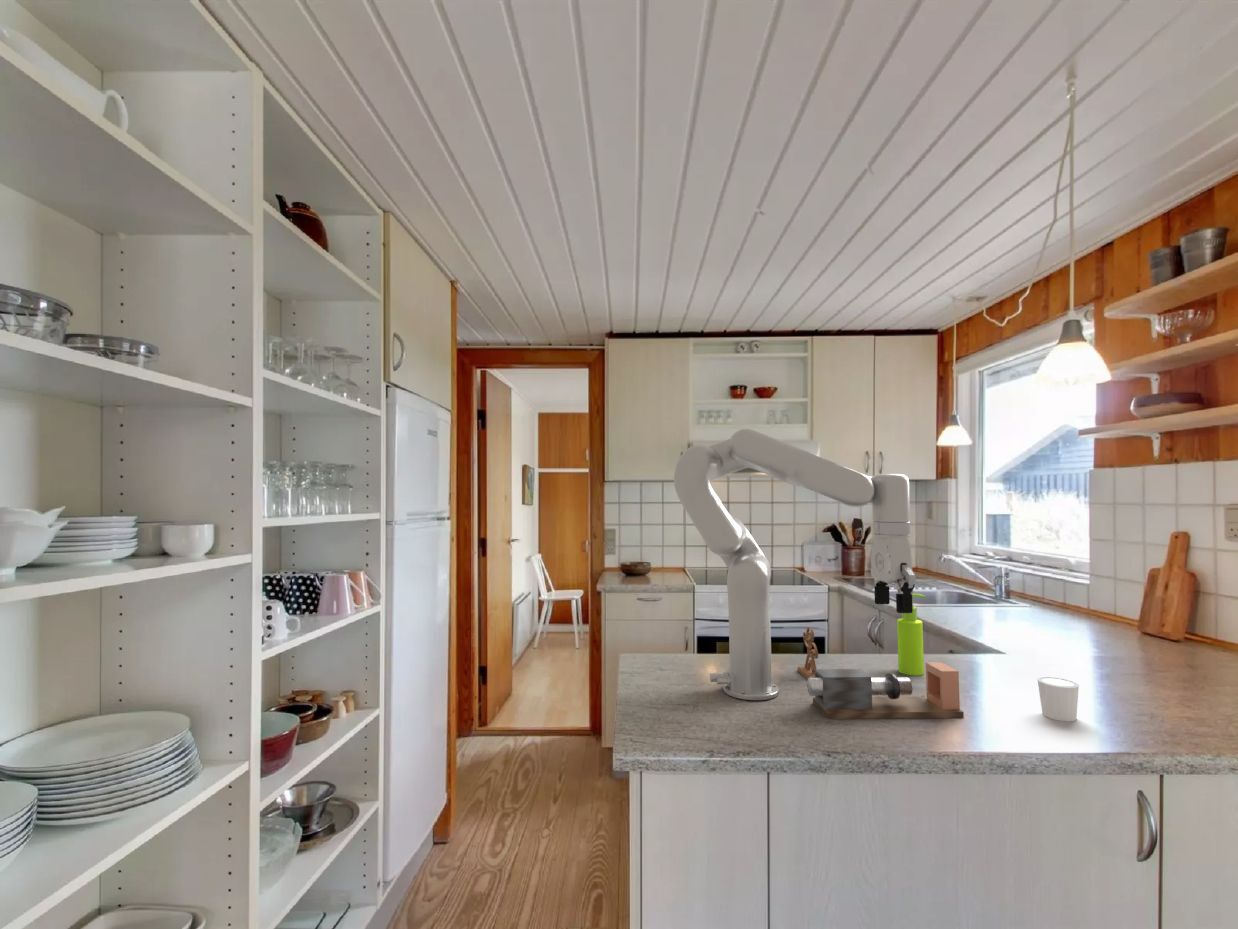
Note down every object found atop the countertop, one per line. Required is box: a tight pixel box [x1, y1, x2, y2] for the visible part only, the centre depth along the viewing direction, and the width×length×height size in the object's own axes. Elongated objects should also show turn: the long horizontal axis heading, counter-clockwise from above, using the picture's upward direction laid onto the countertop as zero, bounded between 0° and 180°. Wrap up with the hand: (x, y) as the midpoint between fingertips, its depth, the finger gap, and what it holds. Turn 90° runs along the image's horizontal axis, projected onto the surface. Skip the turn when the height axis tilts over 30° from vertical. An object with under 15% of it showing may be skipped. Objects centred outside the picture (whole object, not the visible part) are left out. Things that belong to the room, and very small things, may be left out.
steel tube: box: [806, 672, 913, 699], centre depth 125 cm, size 21×5×5 cm, turn 90°
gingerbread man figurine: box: [797, 627, 819, 680], centre depth 149 cm, size 9×4×12 cm, turn 4°
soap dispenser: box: [896, 592, 927, 677], centre depth 151 cm, size 6×7×20 cm
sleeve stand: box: [812, 668, 965, 720], centre depth 125 cm, size 28×9×8 cm, turn 90°
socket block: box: [925, 661, 961, 710], centre depth 125 cm, size 4×6×8 cm, turn 0°
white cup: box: [1037, 676, 1080, 722], centre depth 121 cm, size 7×7×7 cm
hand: (892, 608), depth 129 cm, fingers open, 9 cm apart
